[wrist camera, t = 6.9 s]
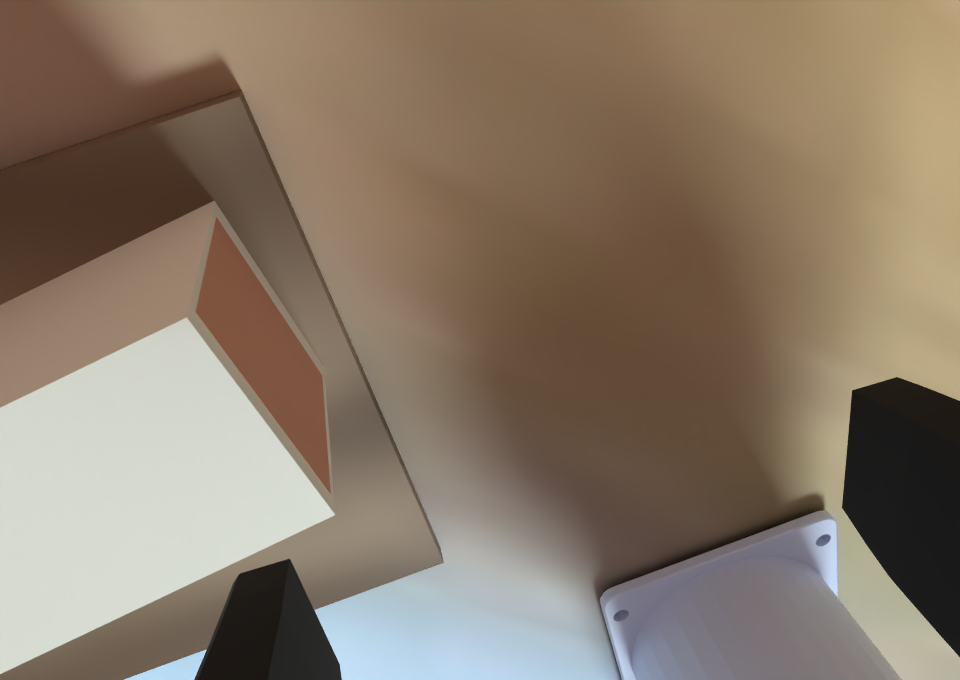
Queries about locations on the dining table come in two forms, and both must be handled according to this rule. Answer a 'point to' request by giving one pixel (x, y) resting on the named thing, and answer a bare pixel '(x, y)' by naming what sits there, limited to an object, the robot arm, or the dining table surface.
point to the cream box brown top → (149, 431)
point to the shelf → (302, 290)
